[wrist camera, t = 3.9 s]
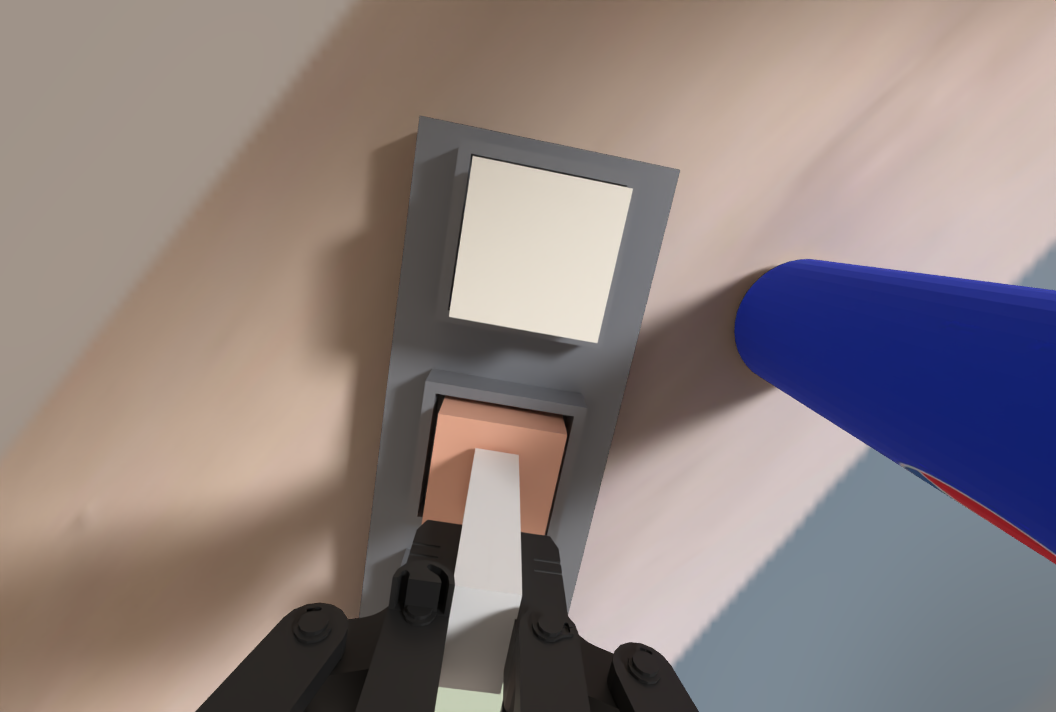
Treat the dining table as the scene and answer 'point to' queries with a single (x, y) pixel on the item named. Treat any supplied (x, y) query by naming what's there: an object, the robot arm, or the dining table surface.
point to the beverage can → (922, 377)
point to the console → (503, 343)
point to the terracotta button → (498, 431)
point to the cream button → (537, 250)
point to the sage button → (467, 701)
